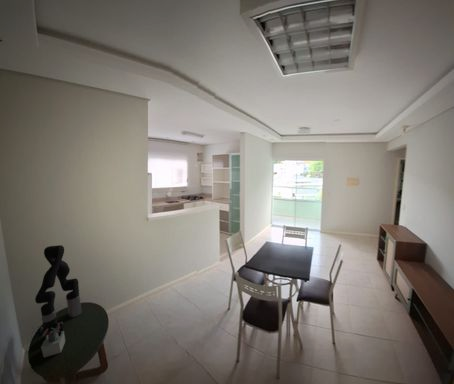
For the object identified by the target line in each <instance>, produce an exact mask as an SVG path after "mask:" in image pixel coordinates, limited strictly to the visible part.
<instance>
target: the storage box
mask: <svg viewBox="0 0 454 384" xmlns="http://www.w3.org/2000/svg"><path fill="white" fill-rule="evenodd" d="M65 343H66V337H65V333H64V334H63V337H62V339H61V341H60V343H59V344H56V345H52V346H48V347H45V348H41V352H42V357H44V358H47V357H51V356H54V355H57V354H62V351H63V349H64V345H65Z"/></svg>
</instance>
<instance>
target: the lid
mask: <svg viewBox="0 0 454 384" xmlns="http://www.w3.org/2000/svg"><path fill="white" fill-rule="evenodd" d="M61 333H62V334H61V335H60V336H58V333H56V331H51V332H50V333H49V335H47V339H46V340H45V341H44V340H43V342H42V344H41V346H40V349H42V348H45V347H48V346H52V345H56V344H59V343H60V341H61V339H62V337H63V334H64V335H65V331H64V330H63V331H61Z"/></svg>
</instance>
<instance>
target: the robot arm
mask: <svg viewBox="0 0 454 384" xmlns="http://www.w3.org/2000/svg"><path fill="white" fill-rule="evenodd" d="M64 254H65V247H64V246H63V245H51V246H47V247H45V248H44V249H43V255H44V258H45V260H46V261H47V262H48V263H49V265H50V267H49V268H48V270H46V272H45V274H44V275H43V279H42V282H41V286H40V288H39V290H38V292H37V294H36V296H35V298H34V299H35V300H34V301H35V303H36V304H43V305H42V306H41V307H40V312H41V313H40V315H41V322H42V326H39V327H38V329H37V334H38V337H39V338H40V337H42V340H43V342H44V341H45V340H46V339H47V336H46V332H50V331H57V332H58V336H60V335H61V334H62V333H61V332H62V331H64V328H65V325H64V321H62V320H61V321H60V322H58V319H57V318H58V317H57V314H56V313H57V312H56V310H55V299H56V291H53V290H48V289H51V288H53V287H54V286H55V283H56V278H57V279H58V281H59V283H60V287H61V289H62V291H63V292H68V293H67V294H66V296H65V299H66V304H67V311H68V317H69V318H74V317H77V316H79V315H80V314H82V311H83V310H82V305H81V303H82V302H81V297H80V288H79V280H78V278H70V279H67V277H68V275H69V274H70V267H69V265H68V263H67V262H66V261H64V260H63V256H64ZM47 290H48V291H47ZM58 325H59V326H60V328H59V326H58ZM43 330H44V331H45V332H44V331H43Z"/></svg>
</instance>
